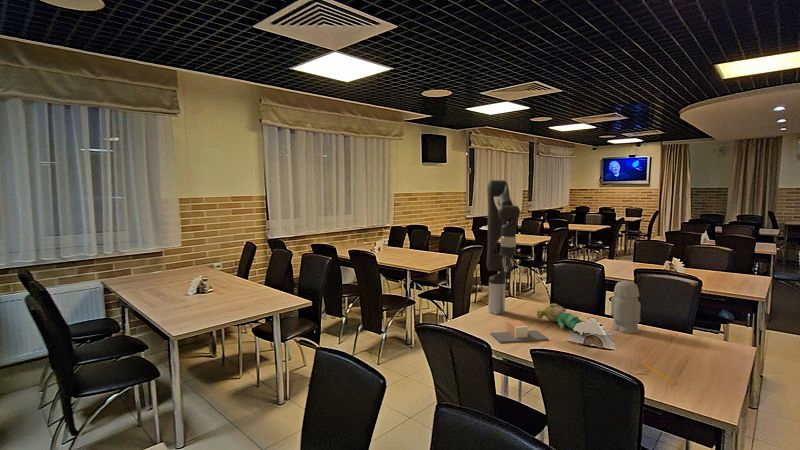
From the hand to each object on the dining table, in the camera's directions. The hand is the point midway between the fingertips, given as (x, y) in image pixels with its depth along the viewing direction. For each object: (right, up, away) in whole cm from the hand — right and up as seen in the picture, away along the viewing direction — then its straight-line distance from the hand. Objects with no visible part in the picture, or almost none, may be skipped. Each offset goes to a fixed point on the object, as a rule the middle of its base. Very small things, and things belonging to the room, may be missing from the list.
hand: (507, 279), depth 216 cm
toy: (+31, -25, +5) cm, 40 cm away
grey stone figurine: (+58, -26, -2) cm, 64 cm away
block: (+1, -22, -6) cm, 23 cm away
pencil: (+45, -30, -51) cm, 75 cm away
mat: (+2, -26, -13) cm, 29 cm away
